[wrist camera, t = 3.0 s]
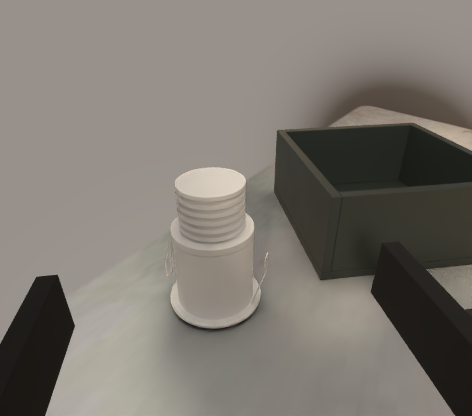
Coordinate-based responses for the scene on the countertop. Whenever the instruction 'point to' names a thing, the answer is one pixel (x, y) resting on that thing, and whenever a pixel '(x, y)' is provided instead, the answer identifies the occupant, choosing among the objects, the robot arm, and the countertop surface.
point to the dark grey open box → (375, 195)
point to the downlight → (213, 250)
